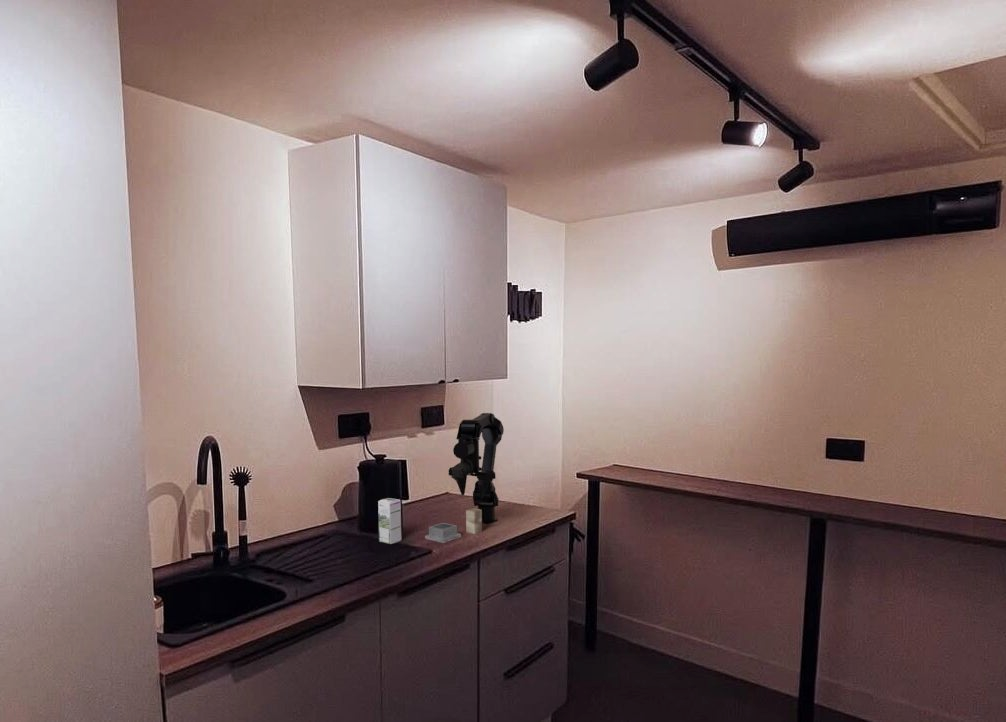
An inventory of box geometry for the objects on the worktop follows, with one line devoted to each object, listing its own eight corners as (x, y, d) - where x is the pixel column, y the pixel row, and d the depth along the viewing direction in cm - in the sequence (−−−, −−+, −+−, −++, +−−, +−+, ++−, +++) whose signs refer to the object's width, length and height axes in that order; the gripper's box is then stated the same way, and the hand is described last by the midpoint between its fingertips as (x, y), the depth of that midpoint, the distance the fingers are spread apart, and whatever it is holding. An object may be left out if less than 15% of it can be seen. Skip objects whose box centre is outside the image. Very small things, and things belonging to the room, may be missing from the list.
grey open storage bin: (443, 532, 221) (442, 521, 221) (461, 536, 216) (460, 525, 216) (425, 538, 214) (424, 527, 214) (443, 542, 209) (443, 531, 209)
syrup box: (402, 540, 212) (401, 499, 212) (389, 544, 208) (389, 502, 208) (390, 538, 216) (389, 497, 216) (378, 542, 211) (377, 500, 211)
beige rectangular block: (473, 529, 225) (473, 508, 225) (481, 531, 222) (481, 509, 222) (466, 532, 222) (466, 510, 222) (474, 534, 219) (474, 511, 219)
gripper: (437, 454, 221) (438, 497, 222) (475, 459, 209) (475, 505, 210) (458, 450, 230) (459, 491, 230) (496, 455, 218) (496, 498, 218)
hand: (472, 496), depth 222 cm, fingers open, 9 cm apart
